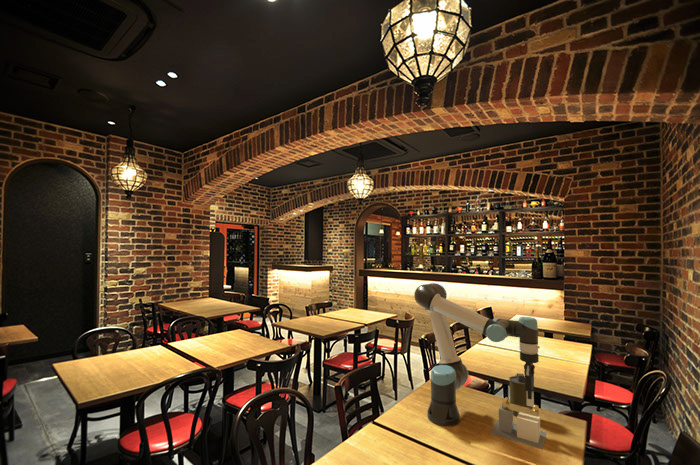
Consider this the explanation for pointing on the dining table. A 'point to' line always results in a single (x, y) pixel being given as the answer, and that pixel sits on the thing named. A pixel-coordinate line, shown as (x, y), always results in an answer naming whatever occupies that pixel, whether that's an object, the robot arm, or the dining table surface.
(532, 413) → the latch bar
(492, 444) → the dining table surface
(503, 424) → the latch base
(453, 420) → the robot arm
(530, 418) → the cover
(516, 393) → the canister
